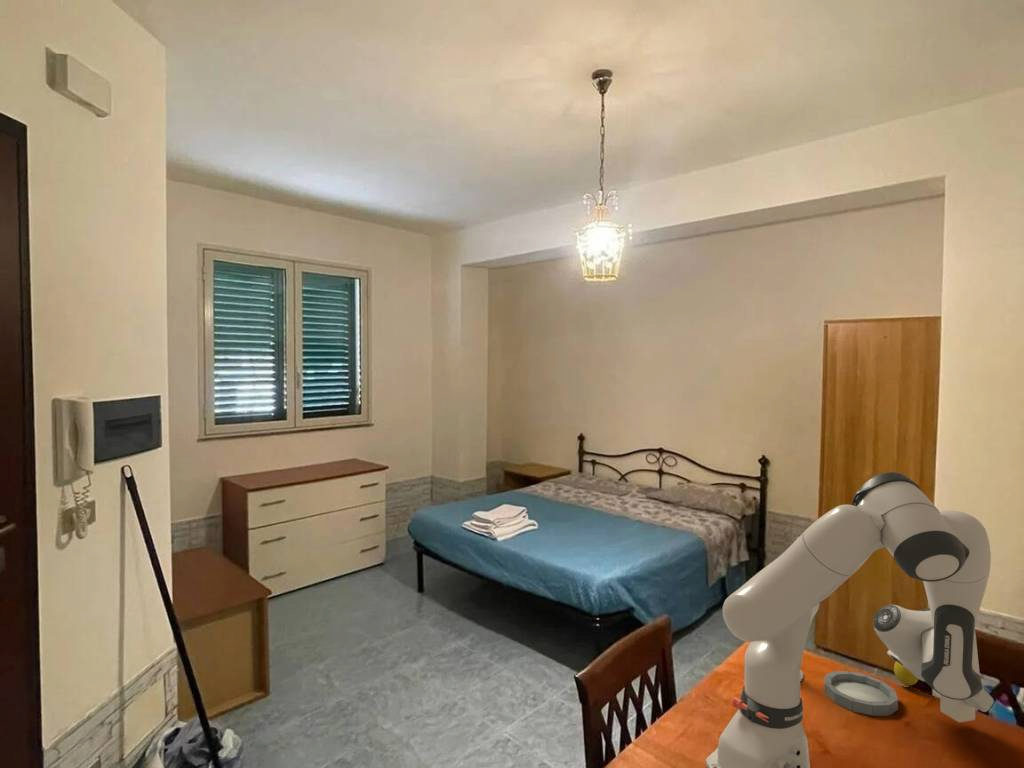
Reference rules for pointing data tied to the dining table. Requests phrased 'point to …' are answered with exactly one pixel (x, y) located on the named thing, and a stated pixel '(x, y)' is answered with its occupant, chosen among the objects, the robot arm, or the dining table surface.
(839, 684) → the dish
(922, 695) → the dining table surface
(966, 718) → the block
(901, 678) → the lemon
